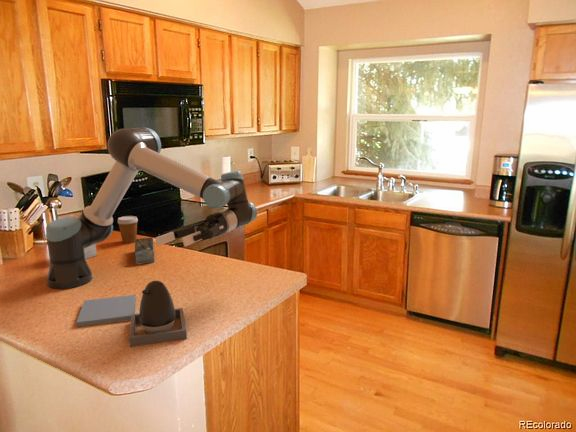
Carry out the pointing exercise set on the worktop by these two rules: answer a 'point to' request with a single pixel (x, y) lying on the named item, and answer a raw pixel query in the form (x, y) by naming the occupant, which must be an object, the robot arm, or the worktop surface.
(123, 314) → the slate-blue board
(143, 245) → the beverage carton
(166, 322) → the dark brown egg shape
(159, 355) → the worktop surface
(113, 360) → the worktop surface
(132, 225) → the disposable coffee cup
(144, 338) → the gray open frame
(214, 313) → the worktop surface
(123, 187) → the robot arm
